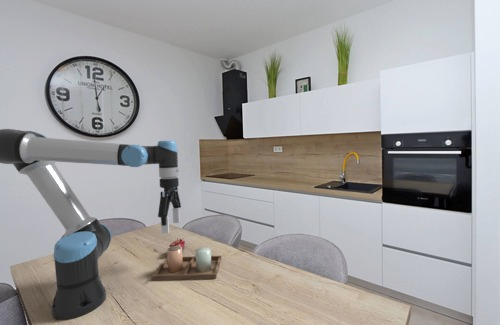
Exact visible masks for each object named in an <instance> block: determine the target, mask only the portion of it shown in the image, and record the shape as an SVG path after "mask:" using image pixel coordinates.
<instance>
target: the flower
mask: <svg viewBox="0 0 500 325" xmlns="http://www.w3.org/2000/svg"><path fill="white" fill-rule="evenodd" d="M185 242H186V241H185V239H184V238H177V239H176V240H175V241H173V242H172V243H170V244H169V248H170V247H173V246H181V247H182V251H185V250H186V245H185V244H186V243H185ZM182 255H183V252H182Z"/></svg>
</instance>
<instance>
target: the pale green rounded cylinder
mask: <svg viewBox="0 0 500 325" xmlns="http://www.w3.org/2000/svg"><path fill="white" fill-rule="evenodd" d="M195 256H196V270H197V271H198V272H208V271H210V270H211V268H212V266H211V256H212V249H211V248H210V247H208V246H205V247H204V246H202V247H199V248H197V249H195Z"/></svg>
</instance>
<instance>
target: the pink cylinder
mask: <svg viewBox="0 0 500 325" xmlns="http://www.w3.org/2000/svg"><path fill="white" fill-rule="evenodd" d="M166 251H167V252H166V253H167V257H168V271H169V272H170V273H176V272H180V271H181V270H182V269H183V257H184V256H183V254H182V253H183V250H182V247H181V246H173V247H170V246H169V247H167V250H166Z"/></svg>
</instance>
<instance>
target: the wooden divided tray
mask: <svg viewBox="0 0 500 325" xmlns="http://www.w3.org/2000/svg"><path fill="white" fill-rule="evenodd" d="M182 257H183V269H182V270H181V271H180V272H176V273H170V272H169V271H168V256H167V257H166V258H165V259H164V260H163V262H162V263H161V264H160V265H159V266H158V268H157V269H156V271H155V272H154V273H153V274H152V276H151V281H152V282H153V281H188V280H192V281H193V280H195V281H196V280H216V279H217V277H218V273H219V269H220V266H221V262H222V255H211V266H212V268H211V270H210V271H208V272H198V271H197V270H196V255H195V256H194V255H193V256H182Z"/></svg>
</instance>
